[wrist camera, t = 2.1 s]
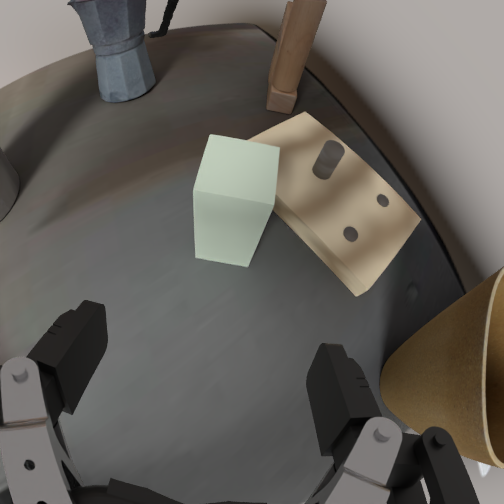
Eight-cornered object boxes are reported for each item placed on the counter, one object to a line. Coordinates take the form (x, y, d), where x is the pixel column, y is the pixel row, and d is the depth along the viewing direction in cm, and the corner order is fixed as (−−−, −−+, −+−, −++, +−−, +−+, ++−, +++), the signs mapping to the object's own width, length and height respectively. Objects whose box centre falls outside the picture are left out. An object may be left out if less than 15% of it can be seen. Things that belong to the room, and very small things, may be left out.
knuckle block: (195, 257, 27) (193, 190, 17) (205, 212, 29) (210, 134, 19) (248, 267, 28) (274, 205, 18) (254, 221, 30) (279, 147, 20)
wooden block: (289, 77, 42) (319, -15, 25) (291, 115, 37) (330, 4, 21) (267, 73, 41) (292, -21, 25) (265, 110, 37) (297, -5, 21)
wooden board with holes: (226, 165, 32) (232, 123, 26) (300, 124, 37) (314, 88, 31) (356, 296, 28) (391, 276, 22) (410, 228, 33) (440, 202, 27)
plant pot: (373, 471, 21) (491, 510, 6) (326, 349, 26) (452, 313, 11) (462, 398, 25) (568, 384, 11) (426, 294, 30) (531, 237, 15)
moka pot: (94, 75, 36) (78, -26, 18) (182, 68, 39) (188, -43, 21) (75, 110, 33) (46, -7, 15) (175, 101, 35) (178, -32, 17)
